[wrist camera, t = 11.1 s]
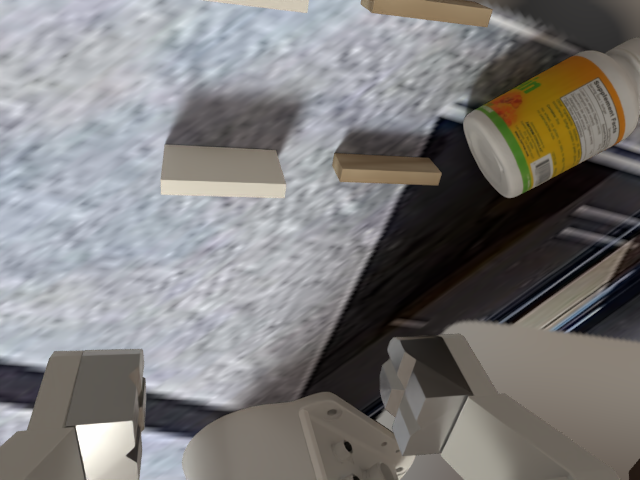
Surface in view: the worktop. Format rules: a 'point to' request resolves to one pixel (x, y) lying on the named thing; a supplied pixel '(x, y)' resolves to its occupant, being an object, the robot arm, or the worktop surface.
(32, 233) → the worktop surface
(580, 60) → the supplement bottle
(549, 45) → the worktop surface
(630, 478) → the brown pot
